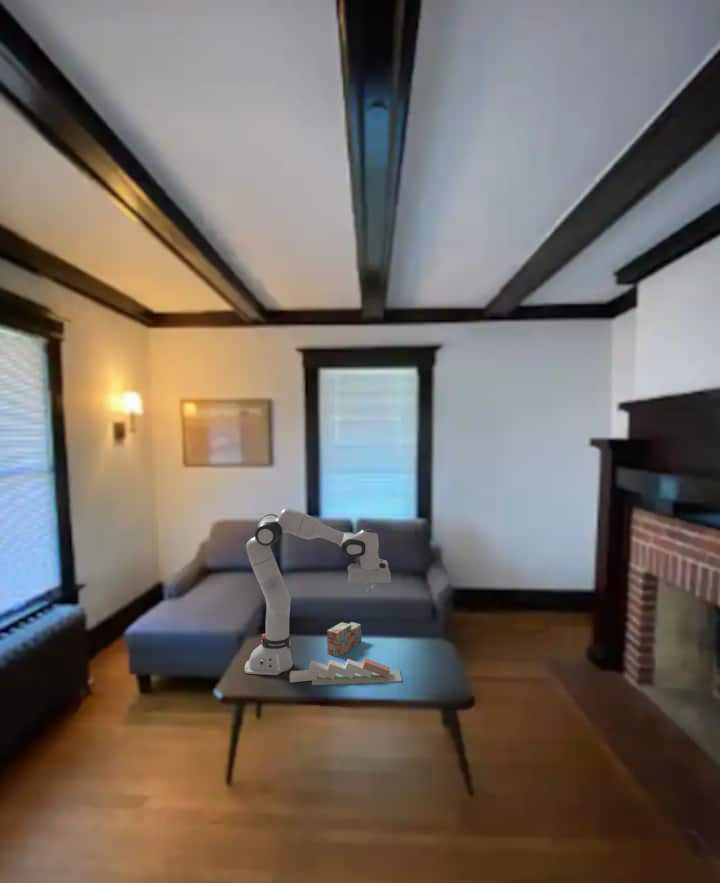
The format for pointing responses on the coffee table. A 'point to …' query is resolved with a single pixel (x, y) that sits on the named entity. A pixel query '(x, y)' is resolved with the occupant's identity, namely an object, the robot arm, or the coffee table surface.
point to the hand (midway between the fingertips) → (369, 592)
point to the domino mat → (358, 679)
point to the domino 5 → (376, 667)
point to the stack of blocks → (343, 638)
